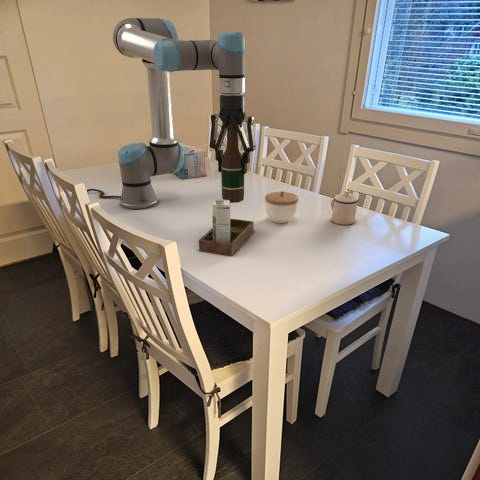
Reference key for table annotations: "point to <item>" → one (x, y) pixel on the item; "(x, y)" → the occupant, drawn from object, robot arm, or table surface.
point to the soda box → (192, 161)
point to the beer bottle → (232, 169)
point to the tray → (237, 237)
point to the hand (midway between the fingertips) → (232, 172)
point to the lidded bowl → (281, 206)
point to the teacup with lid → (344, 208)
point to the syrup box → (221, 221)
